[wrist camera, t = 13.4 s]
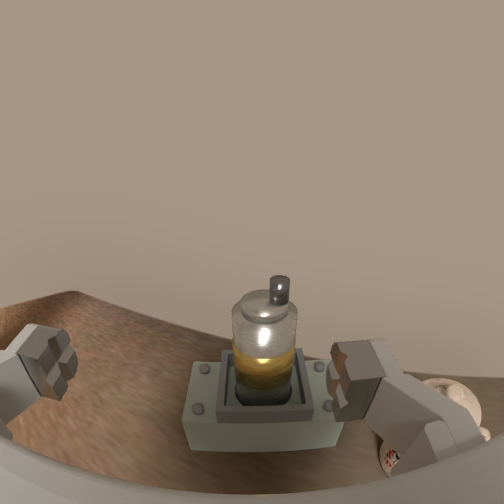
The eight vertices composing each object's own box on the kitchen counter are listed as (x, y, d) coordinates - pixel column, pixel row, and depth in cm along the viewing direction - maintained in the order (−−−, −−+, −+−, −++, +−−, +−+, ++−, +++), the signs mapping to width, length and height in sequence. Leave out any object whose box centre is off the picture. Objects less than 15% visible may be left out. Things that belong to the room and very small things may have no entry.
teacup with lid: (364, 475, 23) (401, 413, 19) (390, 418, 30) (421, 349, 26) (456, 499, 17) (518, 441, 12) (469, 440, 23) (515, 374, 19)
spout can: (234, 409, 26) (227, 298, 22) (236, 371, 32) (231, 265, 27) (292, 408, 27) (305, 296, 22) (287, 370, 32) (295, 264, 27)
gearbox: (190, 449, 27) (177, 408, 24) (199, 393, 36) (191, 348, 33) (367, 441, 27) (388, 398, 24) (350, 388, 36) (363, 343, 33)
